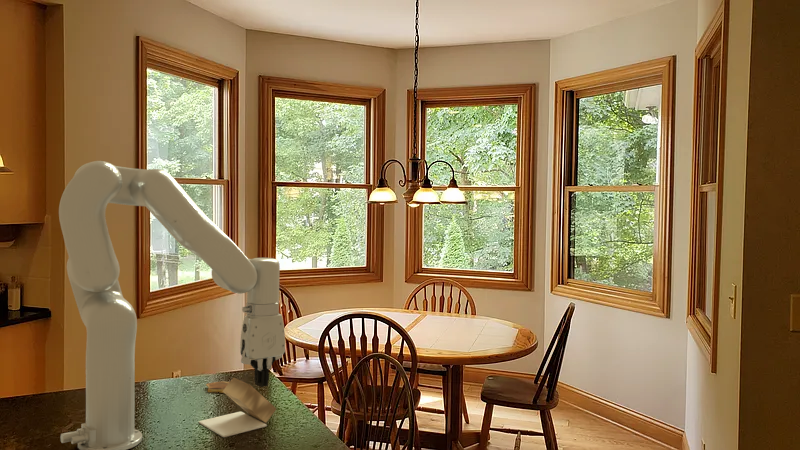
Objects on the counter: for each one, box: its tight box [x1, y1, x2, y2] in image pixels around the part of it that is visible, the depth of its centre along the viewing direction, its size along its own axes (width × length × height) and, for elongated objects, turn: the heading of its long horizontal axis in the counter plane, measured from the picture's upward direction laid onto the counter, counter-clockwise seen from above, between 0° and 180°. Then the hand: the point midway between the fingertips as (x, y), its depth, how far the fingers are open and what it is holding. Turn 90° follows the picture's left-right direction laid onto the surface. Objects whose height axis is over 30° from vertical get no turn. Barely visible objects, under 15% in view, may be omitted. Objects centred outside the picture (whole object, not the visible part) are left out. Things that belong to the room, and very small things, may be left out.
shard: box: [205, 380, 230, 394], centre depth 178 cm, size 11×8×2 cm
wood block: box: [223, 377, 277, 424], centre depth 155 cm, size 4×8×10 cm
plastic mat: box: [198, 410, 268, 438], centre depth 153 cm, size 11×12×1 cm
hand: (261, 385), depth 158 cm, fingers closed
